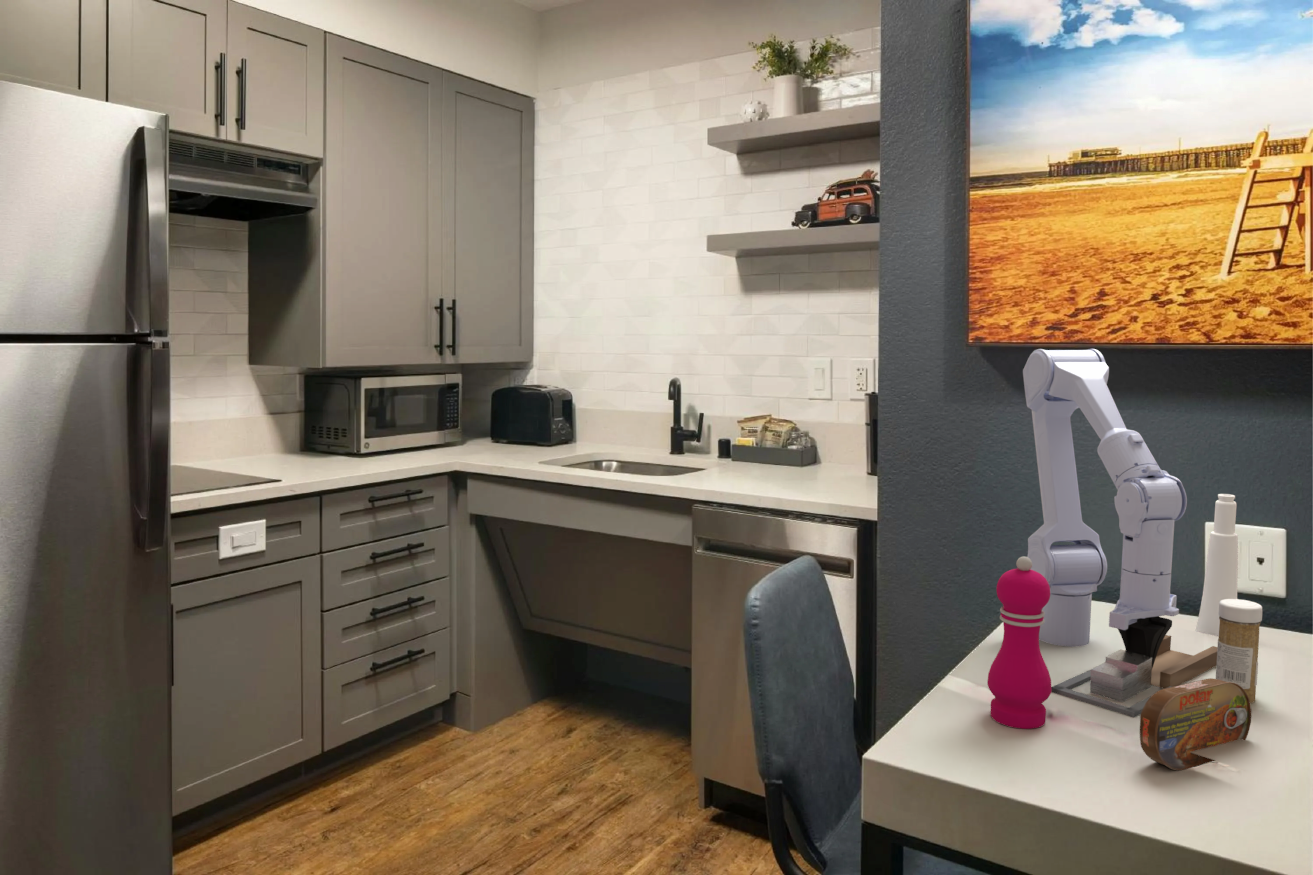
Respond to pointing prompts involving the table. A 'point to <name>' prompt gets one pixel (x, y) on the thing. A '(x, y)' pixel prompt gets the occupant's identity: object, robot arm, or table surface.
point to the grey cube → (1134, 666)
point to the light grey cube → (1114, 681)
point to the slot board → (1179, 665)
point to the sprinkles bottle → (1239, 644)
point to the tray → (1085, 677)
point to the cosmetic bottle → (1219, 565)
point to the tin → (1193, 721)
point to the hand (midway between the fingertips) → (1140, 672)
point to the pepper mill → (1020, 650)
